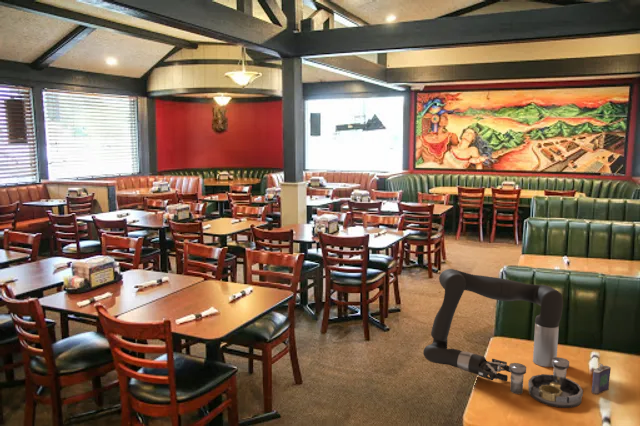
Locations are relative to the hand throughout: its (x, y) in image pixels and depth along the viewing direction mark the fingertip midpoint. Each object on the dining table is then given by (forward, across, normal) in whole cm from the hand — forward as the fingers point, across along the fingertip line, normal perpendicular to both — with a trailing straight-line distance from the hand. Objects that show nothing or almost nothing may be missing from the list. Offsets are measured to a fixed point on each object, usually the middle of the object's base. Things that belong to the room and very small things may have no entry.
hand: (511, 374), depth 194 cm
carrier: (+14, +6, +6) cm, 16 cm away
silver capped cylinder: (+2, 0, +6) cm, 6 cm away
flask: (+26, +21, +6) cm, 34 cm away
